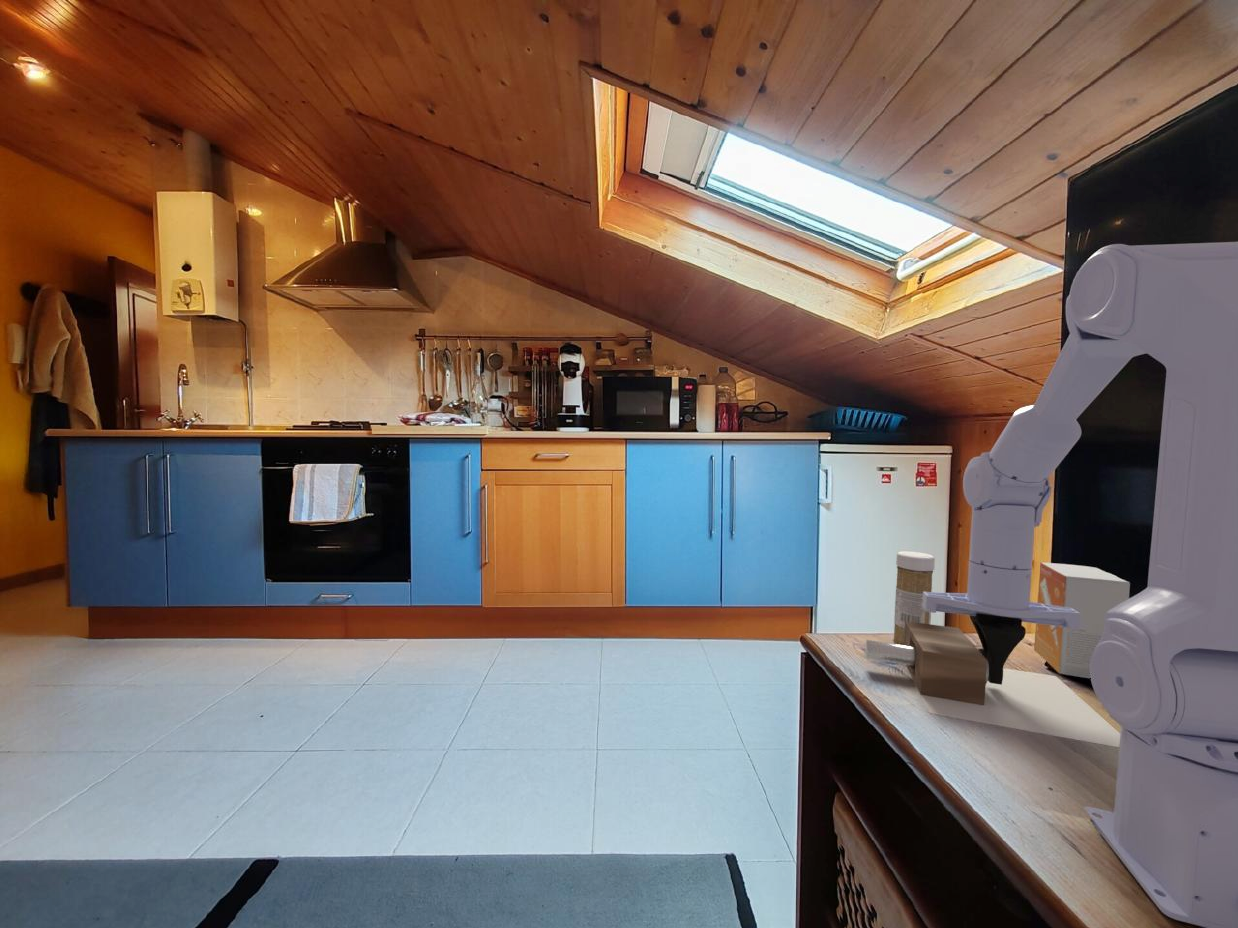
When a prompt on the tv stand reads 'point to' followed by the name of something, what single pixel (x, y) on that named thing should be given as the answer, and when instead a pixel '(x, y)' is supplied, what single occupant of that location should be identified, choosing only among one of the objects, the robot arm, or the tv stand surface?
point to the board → (1031, 708)
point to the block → (946, 663)
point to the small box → (1085, 595)
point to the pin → (899, 653)
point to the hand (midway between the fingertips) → (992, 679)
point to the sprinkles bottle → (911, 590)
